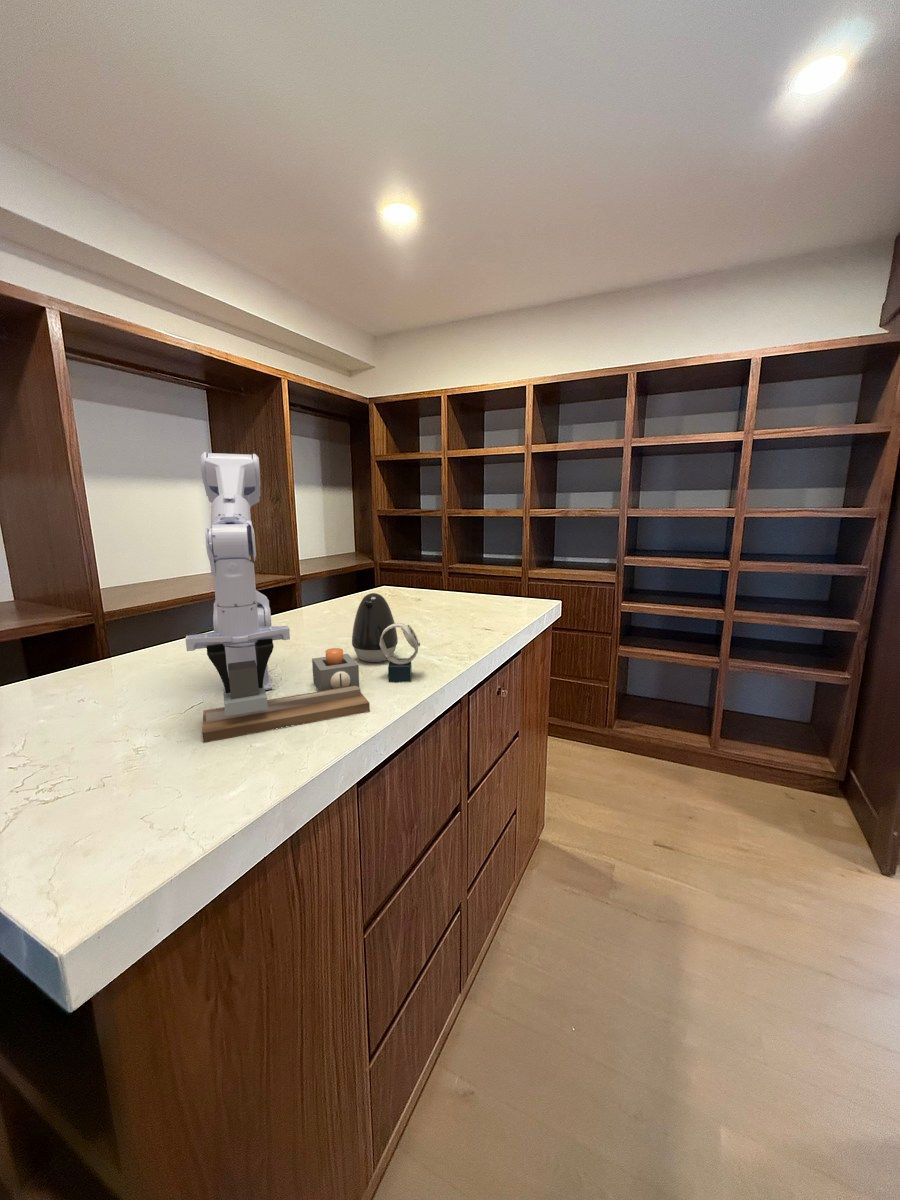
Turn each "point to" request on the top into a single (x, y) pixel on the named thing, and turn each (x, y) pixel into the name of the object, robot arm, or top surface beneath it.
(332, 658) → the button
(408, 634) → the watch
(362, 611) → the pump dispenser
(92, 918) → the top surface
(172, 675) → the top surface
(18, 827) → the top surface
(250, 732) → the rail track
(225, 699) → the carriage
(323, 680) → the gauge cabinet
